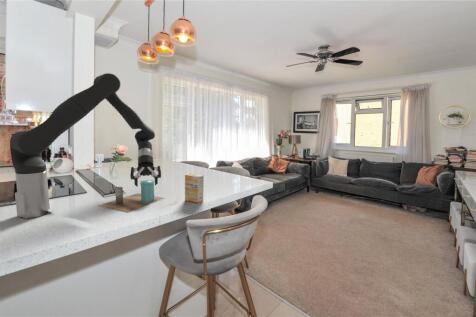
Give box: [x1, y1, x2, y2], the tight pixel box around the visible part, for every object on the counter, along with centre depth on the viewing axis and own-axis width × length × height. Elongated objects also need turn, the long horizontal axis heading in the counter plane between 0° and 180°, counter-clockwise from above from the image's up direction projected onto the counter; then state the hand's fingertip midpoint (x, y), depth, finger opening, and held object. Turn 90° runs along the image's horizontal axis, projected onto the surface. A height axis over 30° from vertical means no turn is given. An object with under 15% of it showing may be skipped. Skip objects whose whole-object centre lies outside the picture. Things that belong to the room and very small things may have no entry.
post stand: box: [97, 186, 165, 214], centre depth 107 cm, size 22×18×8 cm
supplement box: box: [184, 172, 205, 204], centre depth 115 cm, size 8×5×13 cm, turn 62°
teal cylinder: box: [139, 179, 155, 202], centre depth 109 cm, size 6×6×9 cm
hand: (146, 185), depth 114 cm, fingers open, 8 cm apart
